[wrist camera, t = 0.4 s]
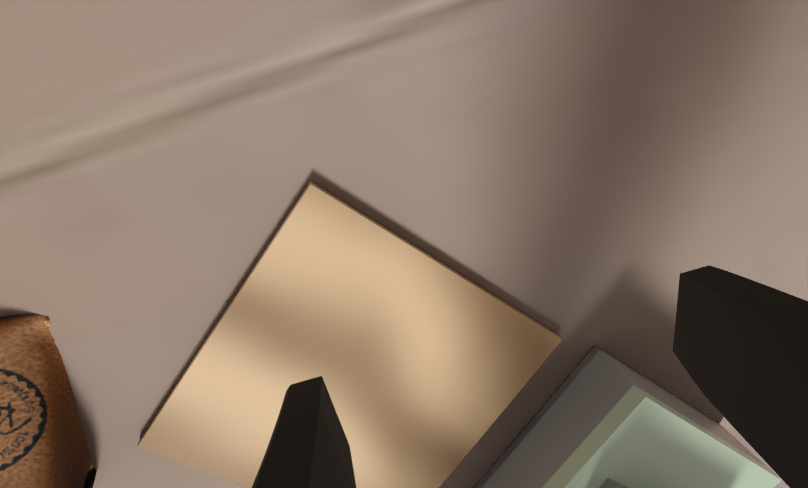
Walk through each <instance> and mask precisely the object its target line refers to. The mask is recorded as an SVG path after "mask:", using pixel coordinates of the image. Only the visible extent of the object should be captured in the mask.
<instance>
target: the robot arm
mask: <svg viewBox="0 0 808 488" xmlns="http://www.w3.org/2000/svg"><path fill="white" fill-rule="evenodd" d="M673 352H674V353H675V355H676V356H677V357H678V359H679V360H680V362H681V363H682V365H683V366H684V368H685V369H686V370H687V372H688V373H689V375H690V376H691V377H692V379H693V380H694V382H695V383H696V384H697V386H698V387H699V388H700V390H701V391H702V392H703V394H704V395H705V396H706V397H707V398H708V399H709V401H710V402H711V403H712V404H713V405H714V406H715V407H716V408H717V409H718V410H719V412H720V413H721V414H722V415H723V416H724V417H725V418H726V419H727V420H728V421H729V422H730V424H731V425H732V426H733V427H734V428H735V429H736V430H737V431H738V432H739V433H740V434H741V435H742V437H743V438H744V439H745V440H746V441H747V442H748V443H749V444H750V445H751V446H752V447H753V448H754V449H755V451H756V452H757V453H758V454H759V455H760V456H761V457H762V458H763V459H764V460H765V461H766V462H767V463H768V464H769V466H770V467H771V468H772V469H773V470H774V471H775V472H776V473H777V474H778V475H779V476H780V477H781V478H782V479H783V481H784V482H785V483H786V484H787V485H788V486H789V487H790V488H808V301H806V300H803V299H800V298H798V297H795V296H792V295H790V294H787V293H784V292H782V291H779V290H776V289H774V288H771V287H768V286H766V285H763V284H761V283H758V282H755V281H752V280H750V279H747V278H744V277H742V276H739V275H736V274H733V273H731V272H728V271H725V270H722V269H719V268H716V267H712V266H706V267H702V268H699V269H695V270H692V271H688V272H685V273H681V274H680V280H679V291H678V301H677V312H676V323H675V334H674V345H673ZM252 488H356V482H355V476H354V469H353V463H352V457H351V451H350V445H349V443H348V440H347V438H346V435H345V433H344V430H343V428H342V425H341V423H340V420H339V418H338V415H337V413H336V410H335V408H334V405H333V403H332V400H331V398H330V395H329V393H328V390H327V388H326V385H325V383H324V380H323V377H322V376H319V377H316V378H312V379H309V380H305V381H302V382H298V383H295V384H291V385H290V386H289V388H288V389H287V391H286V394H285V397H284V400H283V403H282V406H281V410H280V413H279V416H278V419H277V422H276V425H275V428H274V430H273V433H272V436H271V439H270V442H269V444H268V447H267V450H266V453H265V455H264V458H263V460H262V463H261V465H260V468H259V470H258V473H257V475H256V478H255V480H254V483H253V486H252Z"/></svg>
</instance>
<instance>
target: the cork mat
mask: <svg viewBox="0 0 808 488" xmlns="http://www.w3.org/2000/svg"><path fill="white" fill-rule="evenodd" d="M561 341H562V339H561V337H560V336H559V335H557V334H556V333H554V332H553V331H551V330H549V329H548V328H546V327H544V326H543V325H541V324H540V323H538V322H536V321H535V320H533V319H532V318H530V317H528V316H527V315H525V314H524V313H522V312H520V311H519V310H517V309H515V308H514V307H512V306H511V305H509V304H507V303H506V302H504V301H503V300H501V299H499V298H498V297H496V296H494V295H493V294H491V293H490V292H488V291H486V290H485V289H483V288H482V287H480V286H478V285H477V284H475V283H474V282H472V281H470V280H469V279H467V278H465V277H464V276H462V275H461V274H459V273H457V272H456V271H454V270H453V269H451V268H449V267H448V266H446V265H444V264H443V263H441V262H440V261H438V260H436V259H435V258H433V257H432V256H430V255H428V254H427V253H425V252H423V251H422V250H420V249H419V248H417V247H415V246H414V245H412V244H411V243H409V242H407V241H406V240H404V239H403V238H401V237H399V236H398V235H396V234H394V233H393V232H391V231H390V230H388V229H386V228H385V227H383V226H382V225H380V224H378V223H377V222H375V221H373V220H372V219H370V218H369V217H367V216H365V215H364V214H362V213H361V212H359V211H357V210H356V209H354V208H353V207H351V206H349V205H348V204H346V203H344V202H343V201H341V200H340V199H338V198H336V197H335V196H333V195H332V194H330V193H328V192H327V191H325V190H323V189H322V188H320V187H319V186H317V185H315V184H314V183H312V182H311V181H310V183H309V184H308V186H307V187H306V189H305V190H304V192H303V193H302V195H301V196H300V198H299V200H298V201H297V203H296V204H295V206H294V207H293V209H292V210H291V212H290V213H289V215H288V216H287V218H286V219H285V221H284V222H283V224H282V225H281V227H280V228H279V230H278V231H277V233H276V234H275V236H274V237H273V239H272V240H271V242H270V244H269V245H268V247H267V248H266V250H265V251H264V253H263V254H262V256H261V257H260V259H259V260H258V262H257V263H256V265H255V266H254V268H253V269H252V271H251V272H250V274H249V275H248V277H247V278H246V280H245V281H244V283H243V284H242V286H241V288H240V289H239V291H238V292H237V294H236V295H235V297H234V298H233V300H232V301H231V303H230V304H229V306H228V307H227V309H226V310H225V312H224V313H223V315H222V316H221V318H220V319H219V321H218V322H217V324H216V325H215V327H214V328H213V330H212V331H211V333H210V335H209V336H208V338H207V339H206V341H205V342H204V344H203V345H202V347H201V348H200V350H199V351H198V353H197V354H196V356H195V357H194V359H193V360H192V362H191V363H190V365H189V366H188V368H187V369H186V371H185V372H184V374H183V375H182V377H181V379H180V380H179V382H178V383H177V385H176V386H175V388H174V389H173V391H172V392H171V394H170V395H169V397H168V398H167V400H166V401H165V403H164V404H163V406H162V407H161V409H160V410H159V412H158V413H157V415H156V416H155V418H154V419H153V421H152V423H151V424H150V426H149V427H148V429H147V430H146V432H145V433H144V435H143V436H142V438H141V439H140V441H139V443H138V446H137V448H138V449H141V450H144V451H147V452H150V453H152V454H155V455H158V456H161V457H164V458H166V459H169V460H172V461H175V462H178V463H180V464H183V465H186V466H189V467H192V468H194V469H197V470H200V471H203V472H206V473H208V474H211V475H214V476H217V477H220V478H222V479H225V480H228V481H231V482H234V483H236V484H239V485H242V486H245V487H248V488H252V486H253V483H254V480H255V478H256V475H257V473H258V470H259V468H260V465H261V463H262V460H263V458H264V455H265V453H266V450H267V447H268V444H269V442H270V439H271V436H272V433H273V430H274V428H275V425H276V422H277V419H278V416H279V413H280V410H281V406H282V403H283V400H284V397H285V394H286V391H287V389H288V388H289V386H290V385H291V384H295V383H298V382H302V381H305V380H309V379H312V378H316V377H319V376H322V377H323V380H324V383H325V385H326V388H327V390H328V393H329V395H330V398H331V400H332V403H333V405H334V408H335V410H336V413H337V415H338V418H339V420H340V423H341V425H342V428H343V430H344V433H345V435H346V438H347V440H348V443H349V445H350V451H351V457H352V463H353V469H354V476H355V482H356V488H439V487H440V486H441V485H442V484H443V483H444V481H445V480H446V479H447V478H448V477H449V475H450V474H451V473H452V472H453V471H454V469H455V468H456V467H457V466H458V465H459V463H460V462H461V461H462V460H463V459H464V457H465V456H466V455H467V454H468V453H469V451H470V450H471V449H472V448H473V447H474V445H475V444H476V443H477V442H478V441H479V439H480V438H481V437H482V436H483V435H484V433H485V432H486V431H487V430H488V429H489V427H490V426H491V425H492V424H493V423H494V421H495V420H496V419H497V418H498V417H499V415H500V414H501V413H502V412H503V411H504V409H505V408H506V407H507V406H508V405H509V403H510V402H511V401H512V400H513V399H514V397H515V396H516V395H517V394H518V393H519V391H520V390H521V389H522V388H523V387H524V385H525V384H526V383H527V382H528V381H529V379H530V378H531V377H532V376H533V375H534V373H535V372H536V371H537V370H538V369H539V367H540V366H541V365H542V364H543V363H544V361H545V360H546V359H547V358H548V357H549V356H550V354H551V353H552V352H553V351H554V350H555V348H556V347H557V346H558V345H559V344H560V342H561Z"/></svg>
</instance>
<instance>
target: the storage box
mask: <svg viewBox="0 0 808 488" xmlns="http://www.w3.org/2000/svg"><path fill="white" fill-rule="evenodd" d="M633 385H635V386H637V387H638V388H640V389H642V390H643V391H645V392H646V393H648V394H650V395H651V396H653V397H655V398H656V399H658V400H659V401H661V402H663V403H664V404H666V405H668V406H669V407H671V408H672V409H674V410H676V411H677V412H679V413H680V414H682V415H684V416H685V417H687V418H689V419H690V420H692V421H693V422H695V423H697V424H698V425H700V426H702V427H703V428H705V429H706V430H708V431H710V432H711V433H713V434H715V435H716V436H718V437H719V438H721V439H723V440H724V441H726V442H727V443H729V444H731V445H732V446H734V447H736V448H737V449H739V450H740V451H742V452H744V453H745V454H747V455H749V456H750V457H752V458H753V459H755V460H757V461H758V462H760V463H762V462H761V461H760V460H759V459H758V458H757V457H756V456H754V455H753V454H752V453H751V452H750V451H749V450H748V449H747V448H746V447H744V446H743V445H742V444H741V443H740V442H739V441H738V440H737V439H736V438H734V437H733V436H732V435H731V434H730V433H729V432H728V431H727V430H726V429H725V428H723V427H722V426H721V425H720V424H718V423H717V422H715V421H714V420H712V419H711V418H709V417H707V416H706V415H704V414H703V413H701V412H700V411H698V410H696V409H695V408H693V407H692V406H690V405H688V404H687V403H685V402H684V401H682V400H681V399H679V398H677V397H676V396H674V395H673V394H671V393H669V392H668V391H666V390H665V389H663V388H662V387H660V386H658V385H657V384H655V383H654V382H652V381H651V380H649V379H647V378H646V377H644V376H643V375H641V374H639V373H638V372H636V371H635V370H633V369H632V368H630V367H628V366H627V365H625V364H624V363H622V362H620V361H619V360H617V359H616V358H614V357H613V356H611V355H609V354H608V353H606V352H605V351H603V350H602V349H600V348H598V347H597V346H594V347H593V348H592V350H591V351H590V352H589V353H588V354H587V355H586V357H585V358H584V359H583V360H582V361H581V362H580V364H579V365H578V366H577V367H576V368H575V370H574V371H573V372H572V373H571V374H570V375H569V377H568V378H567V379H566V380H565V381H564V382H563V384H562V385H561V386H560V387H559V388H558V389H557V391H556V392H555V393H554V394H553V395H552V397H551V398H550V399H549V400H548V401H547V402H546V404H545V405H544V406H543V407H542V408H541V409H540V411H539V412H538V413H537V414H536V415H535V416H534V418H533V419H532V420H531V421H530V422H529V423H528V425H527V426H526V427H525V428H524V429H523V431H522V432H521V433H520V434H519V435H518V436H517V438H516V439H515V440H514V441H513V442H512V443H511V445H510V446H509V447H508V448H507V449H506V450H505V452H504V453H503V454H502V455H501V456H500V458H499V459H498V460H497V461H496V462H495V463H494V465H493V466H492V467H491V468H490V469H489V470H488V472H487V473H486V474H485V475H484V476H483V477H482V479H481V480H480V481H479V482H478V483H477V484H476V486H475V487H474V488H542V487H543V486H544V485H545V484H546V483H547V482H548V481H549V479H550V478H551V477H552V476H553V475H554V474H555V473H556V472H557V470H558V469H559V468H560V467H561V466H562V465H563V464H564V463H565V461H566V460H567V459H568V458H569V457H570V456H571V455H572V454H573V452H574V451H575V450H576V449H577V448H578V447H579V446H580V445H581V443H582V442H583V441H584V440H585V439H586V438H587V437H588V436H589V434H590V433H591V432H592V431H593V430H594V429H595V428H596V427H597V425H598V424H599V423H600V422H601V421H602V420H603V419H604V418H605V416H606V415H607V414H608V413H609V412H610V411H611V410H612V409H613V407H614V406H615V405H616V404H617V403H618V402H619V401H620V400H621V398H622V397H623V396H624V395H625V394H626V393H627V392H628V391H629V389H630V388H631V387H632V386H633ZM762 464H763V463H762ZM763 465H764V464H763ZM765 466H766V465H765ZM766 467H767V466H766Z"/></svg>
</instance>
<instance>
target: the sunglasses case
mask: <svg viewBox="0 0 808 488" xmlns="http://www.w3.org/2000/svg"><path fill="white" fill-rule="evenodd" d="M49 325H50V319H49V318H48V317H46V316H43V315H39V314H25V315H15V316H8V317H1V318H0V488H92V487H93V484H94V480H95V476H96V471H97V470H96V469H95V468H93V466H92V465H93V463H92V462H91V461H90V458H91V457H90V454H89V451H88V447H87V443H86V440H85V436H84V434H83V430H82V426H81V422H80V419H79V416H78V413H77V408H76V405H75V401H74V398H73V395H72V391H71V388H70V384H69V381H68V376H67V373H66V370H65V367H64V364H63V361H62V357H61V355H60V353H59V350H58V348H57V347H56V345H55V341H54V339H53V337H52V335H51V333H50V331H49Z"/></svg>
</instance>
